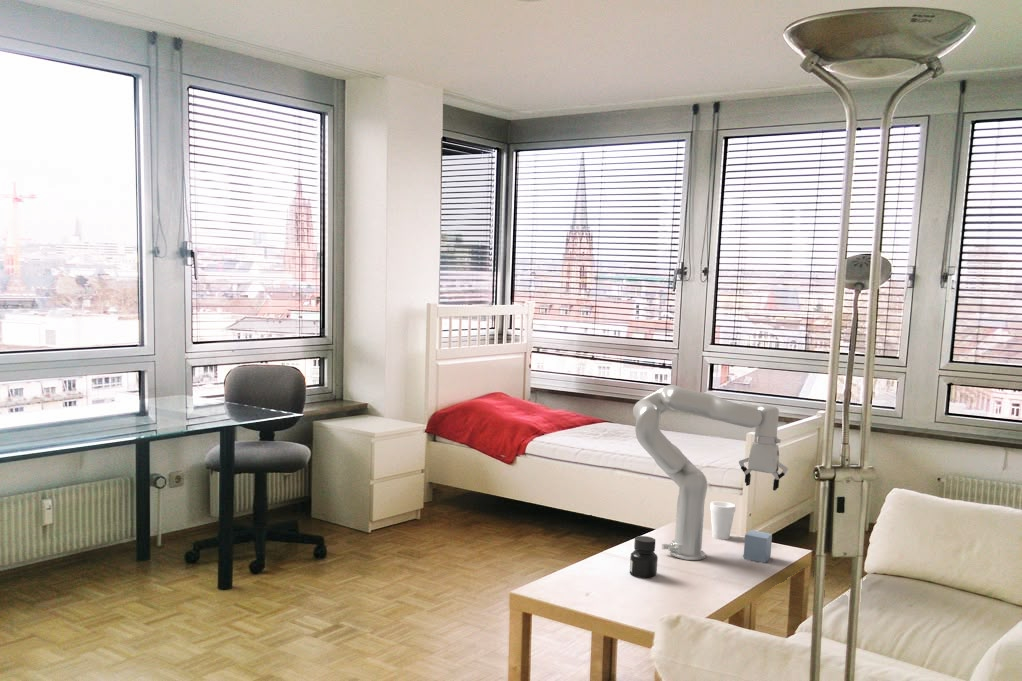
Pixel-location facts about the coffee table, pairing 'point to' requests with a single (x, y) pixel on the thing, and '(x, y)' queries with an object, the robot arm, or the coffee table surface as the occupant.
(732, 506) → the foam cup
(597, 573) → the coffee table surface
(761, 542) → the blue box
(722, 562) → the coffee table surface
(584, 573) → the coffee table surface
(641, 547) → the ink bottle
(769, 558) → the disc
